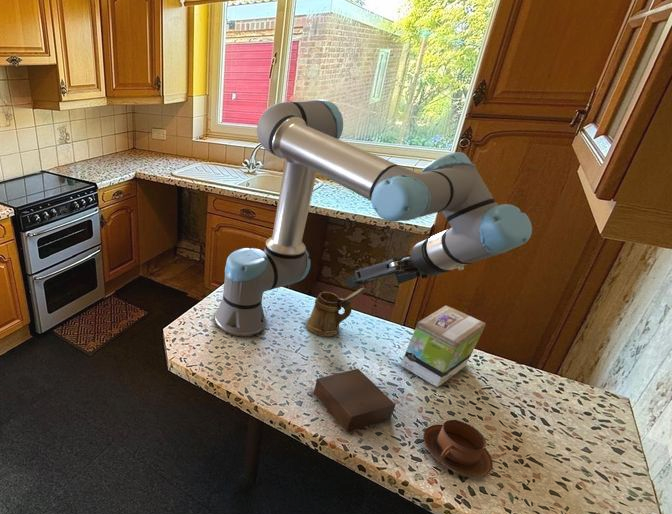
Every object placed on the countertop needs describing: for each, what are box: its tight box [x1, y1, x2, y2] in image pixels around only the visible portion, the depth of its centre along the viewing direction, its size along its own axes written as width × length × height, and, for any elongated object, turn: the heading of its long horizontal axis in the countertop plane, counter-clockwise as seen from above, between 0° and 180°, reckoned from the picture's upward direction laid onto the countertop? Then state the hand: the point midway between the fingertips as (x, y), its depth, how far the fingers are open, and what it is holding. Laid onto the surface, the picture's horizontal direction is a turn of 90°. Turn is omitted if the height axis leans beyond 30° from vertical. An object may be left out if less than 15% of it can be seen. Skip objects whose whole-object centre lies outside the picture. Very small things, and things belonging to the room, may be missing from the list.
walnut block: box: [313, 368, 397, 433], centre depth 94 cm, size 12×12×5 cm
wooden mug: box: [306, 287, 367, 337], centre depth 117 cm, size 9×14×18 cm, turn 46°
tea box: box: [400, 305, 486, 388], centre depth 104 cm, size 15×10×15 cm, turn 123°
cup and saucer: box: [423, 419, 494, 478], centre depth 82 cm, size 12×12×6 cm
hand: (373, 280), depth 100 cm, fingers open, 13 cm apart
